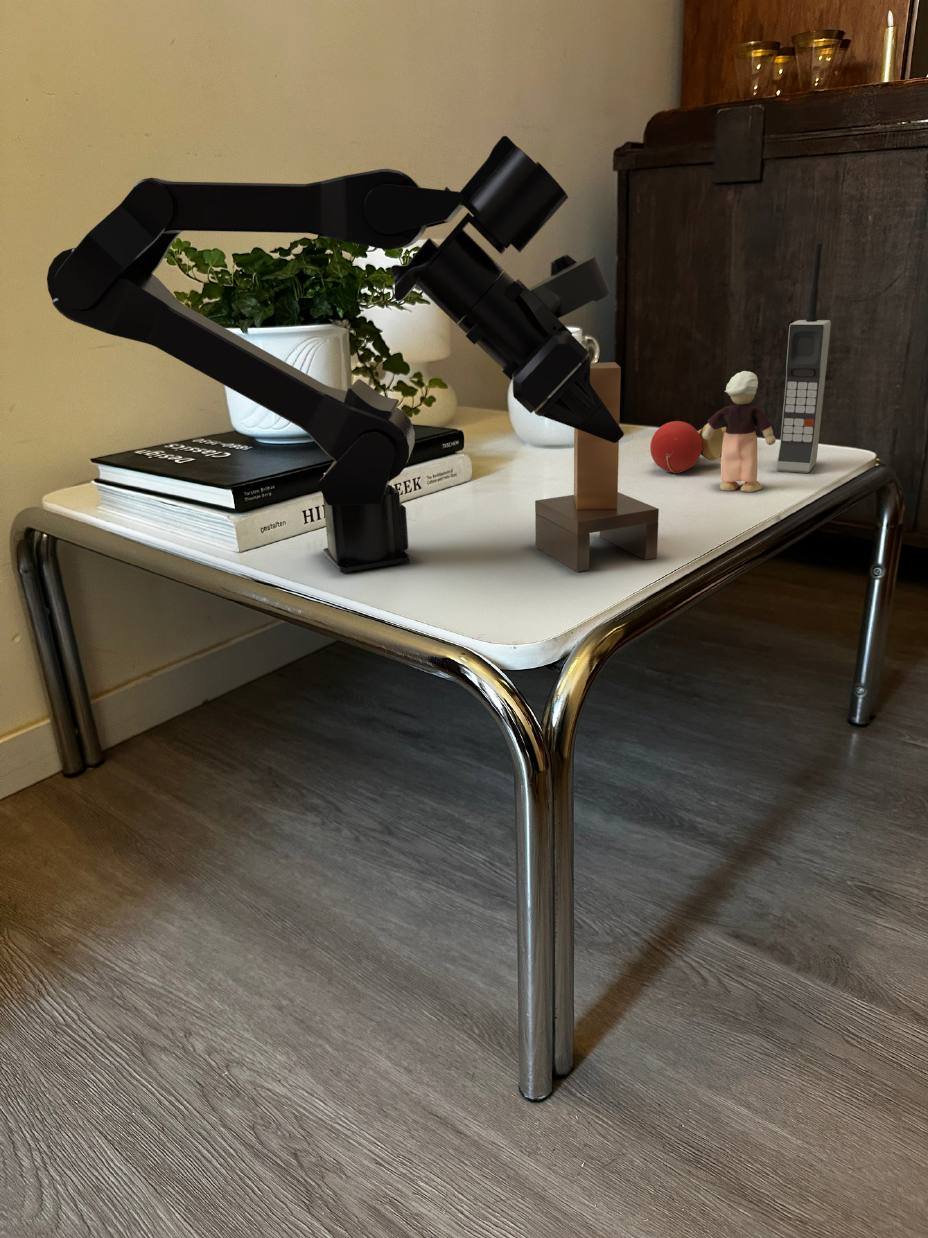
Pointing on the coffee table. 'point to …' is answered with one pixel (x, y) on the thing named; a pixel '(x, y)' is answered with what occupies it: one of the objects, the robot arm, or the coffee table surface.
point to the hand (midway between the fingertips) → (613, 428)
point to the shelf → (594, 529)
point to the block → (598, 447)
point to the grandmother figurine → (740, 434)
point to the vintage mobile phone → (804, 386)
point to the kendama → (684, 446)
